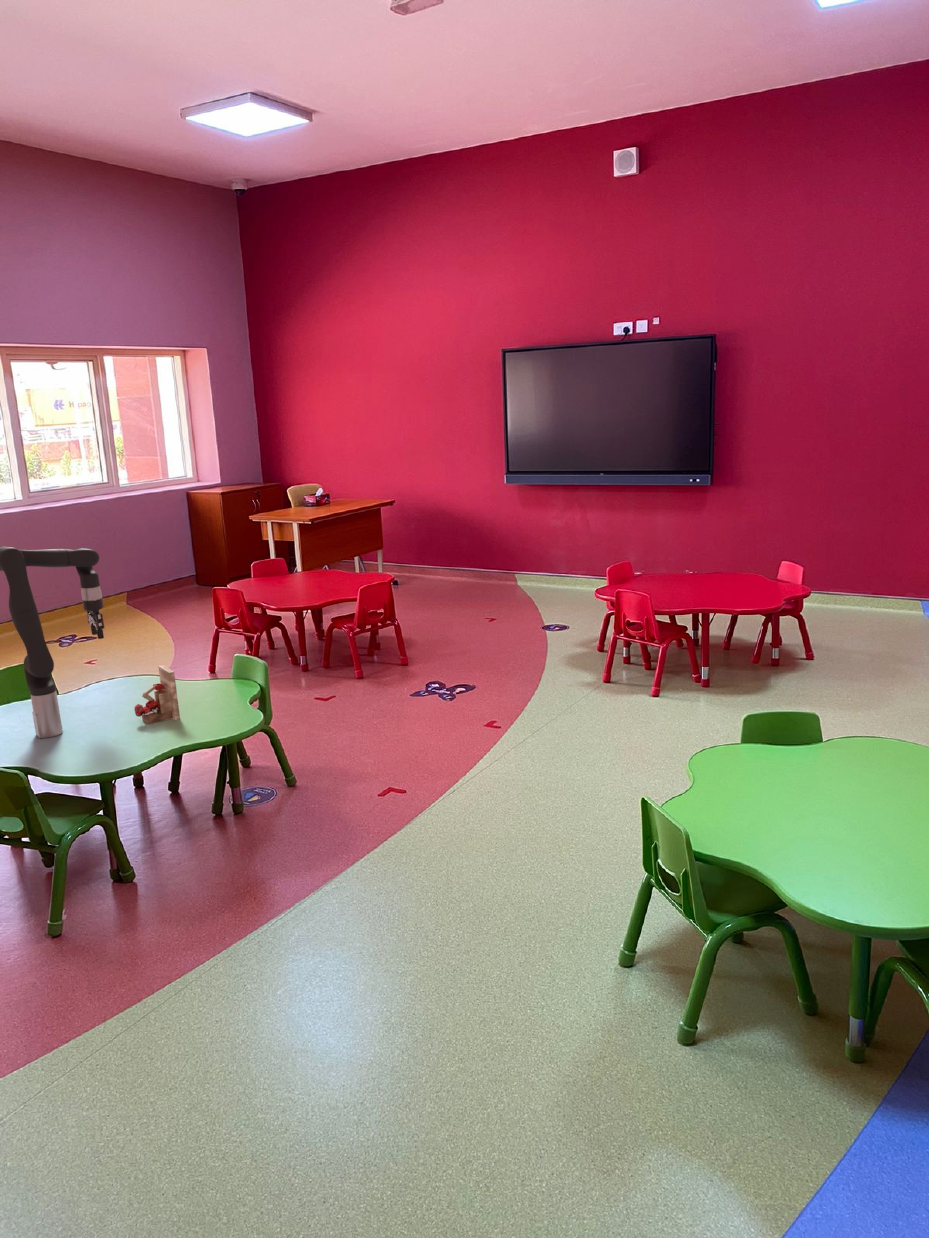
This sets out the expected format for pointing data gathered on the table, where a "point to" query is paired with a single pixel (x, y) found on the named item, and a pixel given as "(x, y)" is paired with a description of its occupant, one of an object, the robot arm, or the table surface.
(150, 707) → the toy fire truck
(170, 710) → the board
